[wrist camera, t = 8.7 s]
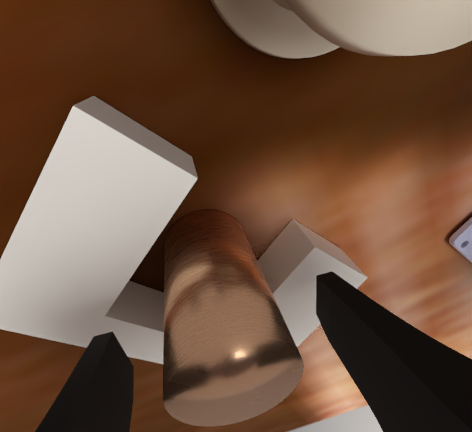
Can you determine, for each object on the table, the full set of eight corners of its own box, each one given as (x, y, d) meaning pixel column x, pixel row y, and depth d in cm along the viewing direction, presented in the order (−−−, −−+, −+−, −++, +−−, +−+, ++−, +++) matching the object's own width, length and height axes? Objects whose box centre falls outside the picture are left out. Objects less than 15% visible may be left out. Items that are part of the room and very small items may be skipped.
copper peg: (260, 231, 14) (330, 356, 8) (216, 285, 15) (249, 431, 9) (192, 194, 12) (218, 321, 6) (149, 259, 13) (135, 419, 7)
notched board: (340, 248, 16) (368, 277, 14) (247, 347, 18) (258, 384, 16) (93, 95, 10) (73, 105, 7) (4, 276, 12) (-30, 322, 10)
